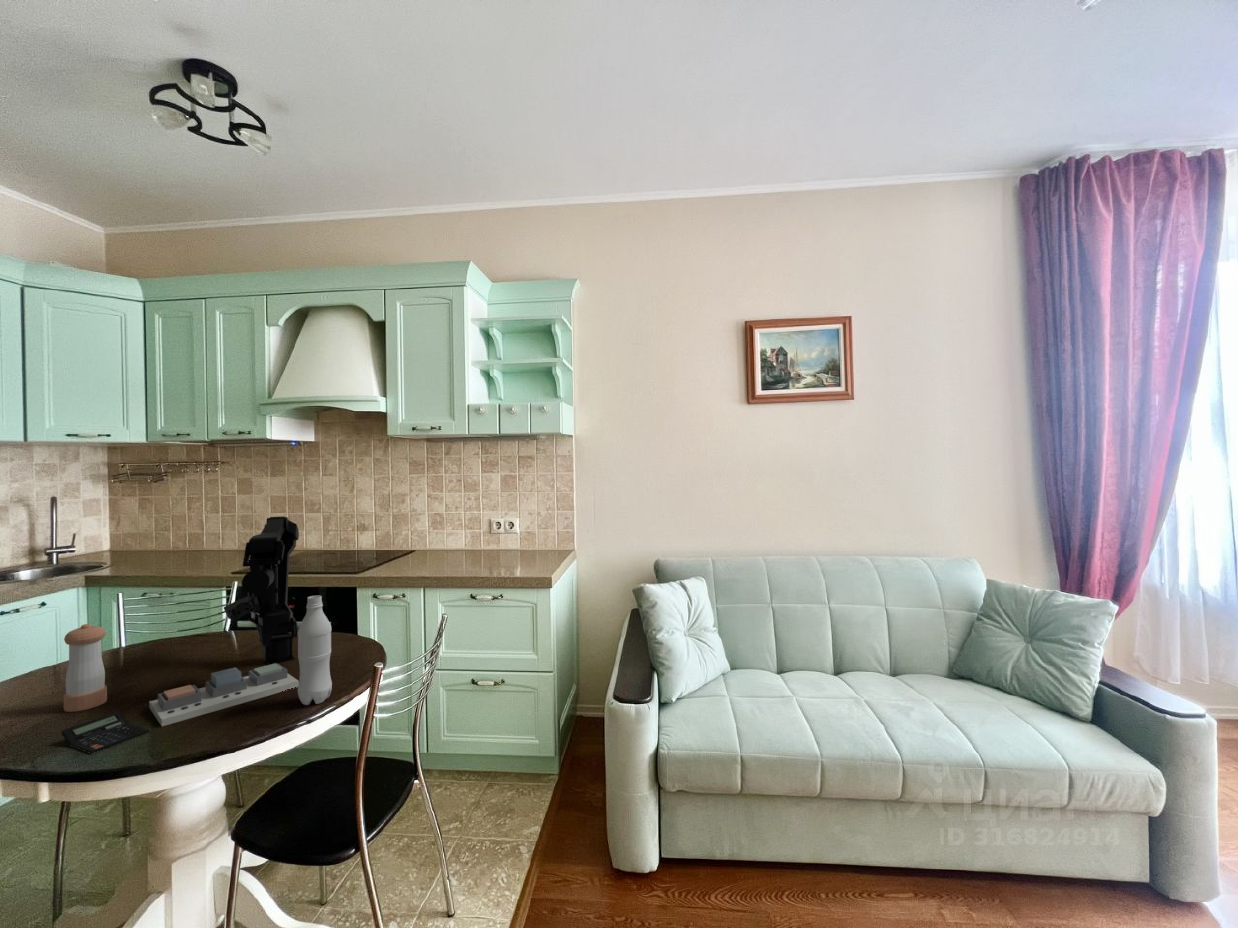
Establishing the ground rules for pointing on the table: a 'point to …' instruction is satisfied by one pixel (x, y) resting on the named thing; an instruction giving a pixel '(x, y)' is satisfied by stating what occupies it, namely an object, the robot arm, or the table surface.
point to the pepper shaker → (85, 669)
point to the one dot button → (267, 669)
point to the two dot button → (225, 677)
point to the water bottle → (314, 653)
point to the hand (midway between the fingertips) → (265, 645)
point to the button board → (220, 696)
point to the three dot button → (179, 692)
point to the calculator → (102, 733)
